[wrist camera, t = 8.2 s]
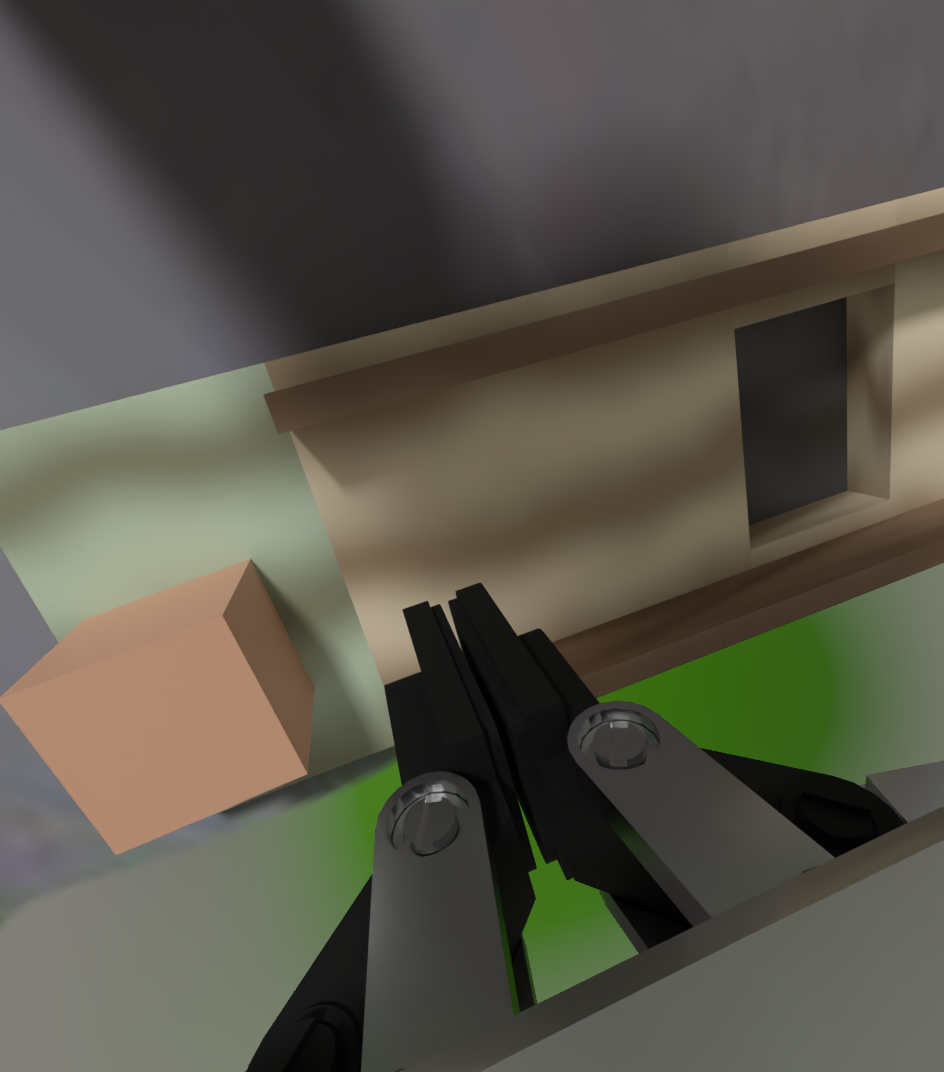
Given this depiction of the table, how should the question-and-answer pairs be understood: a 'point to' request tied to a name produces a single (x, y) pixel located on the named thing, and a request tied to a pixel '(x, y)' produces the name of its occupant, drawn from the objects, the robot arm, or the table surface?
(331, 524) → the track
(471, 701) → the robot arm
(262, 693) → the block
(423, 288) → the table surface
